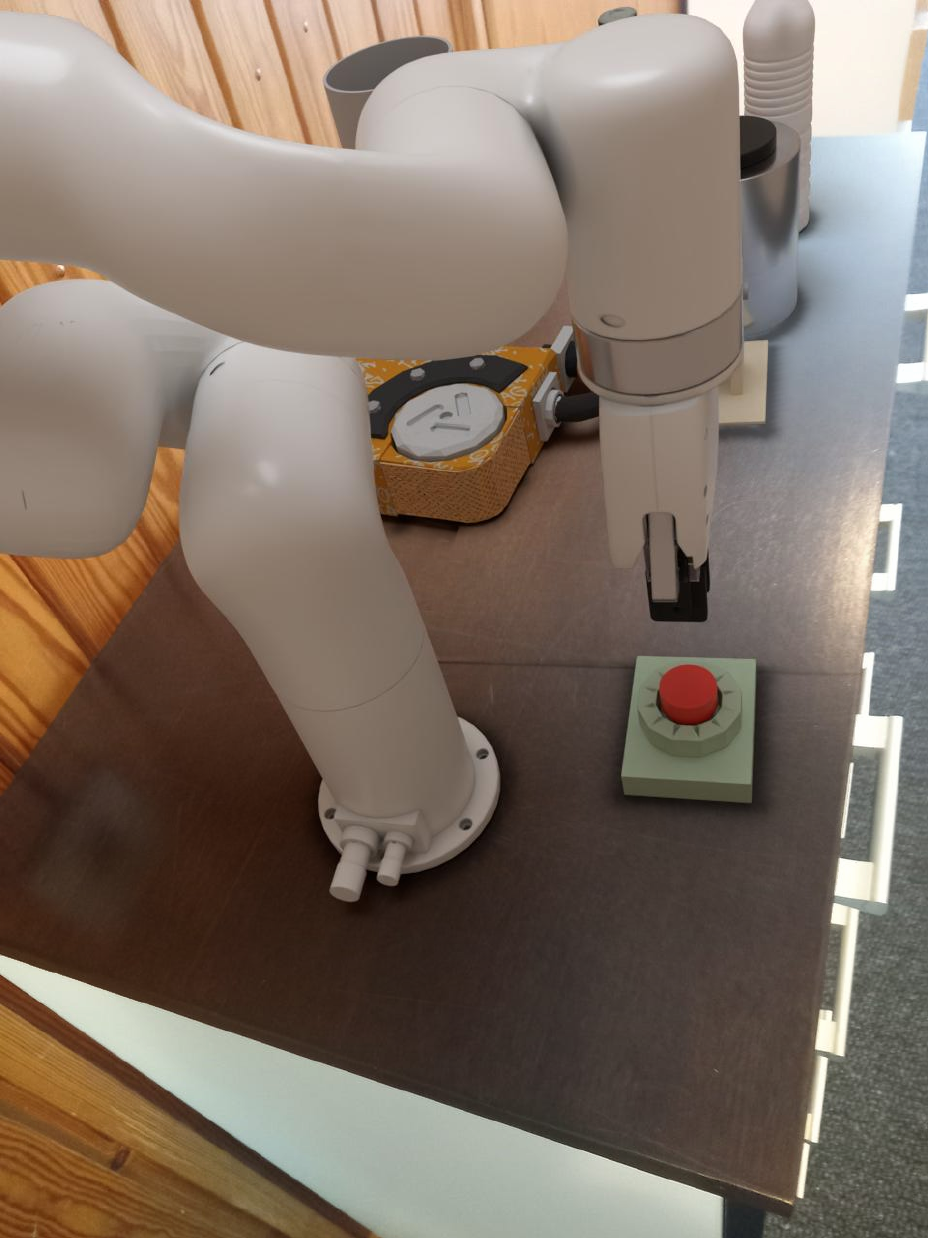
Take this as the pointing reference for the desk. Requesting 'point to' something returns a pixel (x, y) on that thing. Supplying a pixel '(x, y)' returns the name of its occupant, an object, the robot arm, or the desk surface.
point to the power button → (688, 694)
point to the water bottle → (782, 74)
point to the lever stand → (746, 384)
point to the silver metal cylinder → (769, 220)
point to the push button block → (692, 736)
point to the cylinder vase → (370, 77)
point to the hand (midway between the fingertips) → (680, 602)
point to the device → (467, 425)
